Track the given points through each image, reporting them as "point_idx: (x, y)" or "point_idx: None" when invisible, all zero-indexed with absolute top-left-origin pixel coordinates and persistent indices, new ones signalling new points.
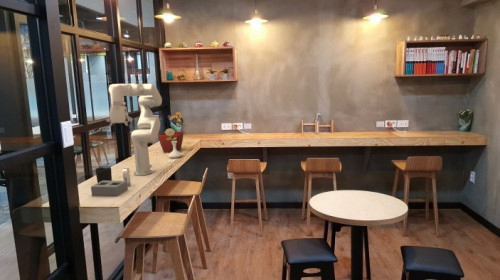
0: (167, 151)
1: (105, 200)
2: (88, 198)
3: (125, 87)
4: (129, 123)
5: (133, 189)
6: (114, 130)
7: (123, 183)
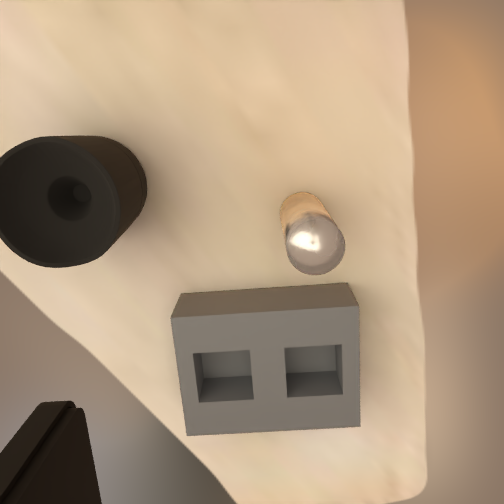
0: None
1: (320, 448)
2: None
3: None
4: None
5: (384, 276)
6: (70, 460)
7: (358, 346)
